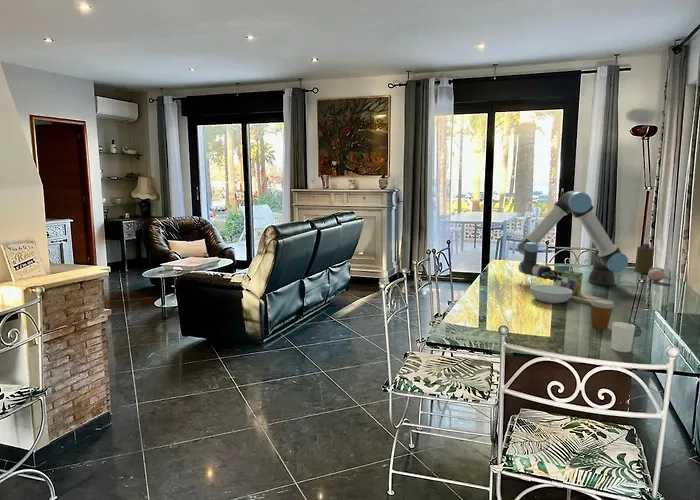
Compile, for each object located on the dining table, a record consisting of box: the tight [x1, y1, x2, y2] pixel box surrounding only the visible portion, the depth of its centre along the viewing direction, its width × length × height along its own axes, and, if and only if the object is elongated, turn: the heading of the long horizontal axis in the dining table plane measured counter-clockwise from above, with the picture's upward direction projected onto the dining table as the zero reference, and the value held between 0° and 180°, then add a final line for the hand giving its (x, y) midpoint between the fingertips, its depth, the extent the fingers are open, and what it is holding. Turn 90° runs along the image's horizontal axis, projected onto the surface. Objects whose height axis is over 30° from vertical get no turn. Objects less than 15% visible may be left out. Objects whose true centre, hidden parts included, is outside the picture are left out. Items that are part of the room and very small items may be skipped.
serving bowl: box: [529, 284, 573, 304], centre depth 268 cm, size 21×21×7 cm
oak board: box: [569, 292, 608, 306], centre depth 276 cm, size 14×24×2 cm, turn 29°
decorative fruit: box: [647, 266, 666, 283], centre depth 322 cm, size 9×8×10 cm
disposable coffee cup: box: [590, 298, 615, 330], centre depth 226 cm, size 10×10×12 cm
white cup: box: [610, 321, 636, 353], centre depth 198 cm, size 8×8×10 cm
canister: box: [633, 243, 655, 274], centre depth 352 cm, size 11×10×20 cm
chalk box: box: [560, 265, 583, 295], centre depth 279 cm, size 9×9×15 cm
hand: (574, 279), depth 278 cm, fingers closed on chalk box, 11 cm apart
